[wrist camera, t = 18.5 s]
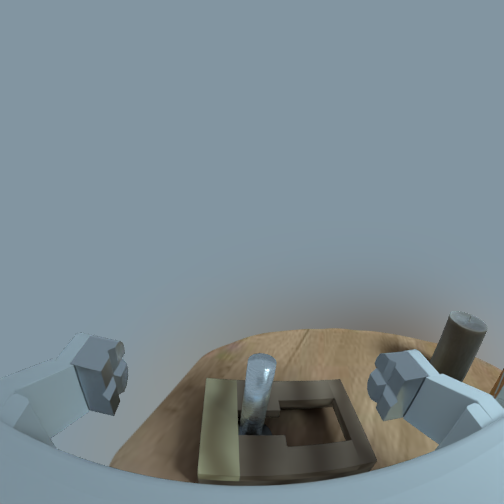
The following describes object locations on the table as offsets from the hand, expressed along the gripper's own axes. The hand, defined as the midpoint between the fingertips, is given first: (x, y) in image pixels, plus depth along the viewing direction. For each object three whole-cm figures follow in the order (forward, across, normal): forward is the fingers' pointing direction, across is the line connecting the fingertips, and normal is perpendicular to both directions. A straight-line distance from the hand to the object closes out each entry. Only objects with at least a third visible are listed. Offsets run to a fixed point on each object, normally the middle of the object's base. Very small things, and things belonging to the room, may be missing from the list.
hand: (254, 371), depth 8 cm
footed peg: (+17, -3, +28) cm, 33 cm away
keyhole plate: (+17, -8, +28) cm, 34 cm away
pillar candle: (+27, -46, +28) cm, 60 cm away
